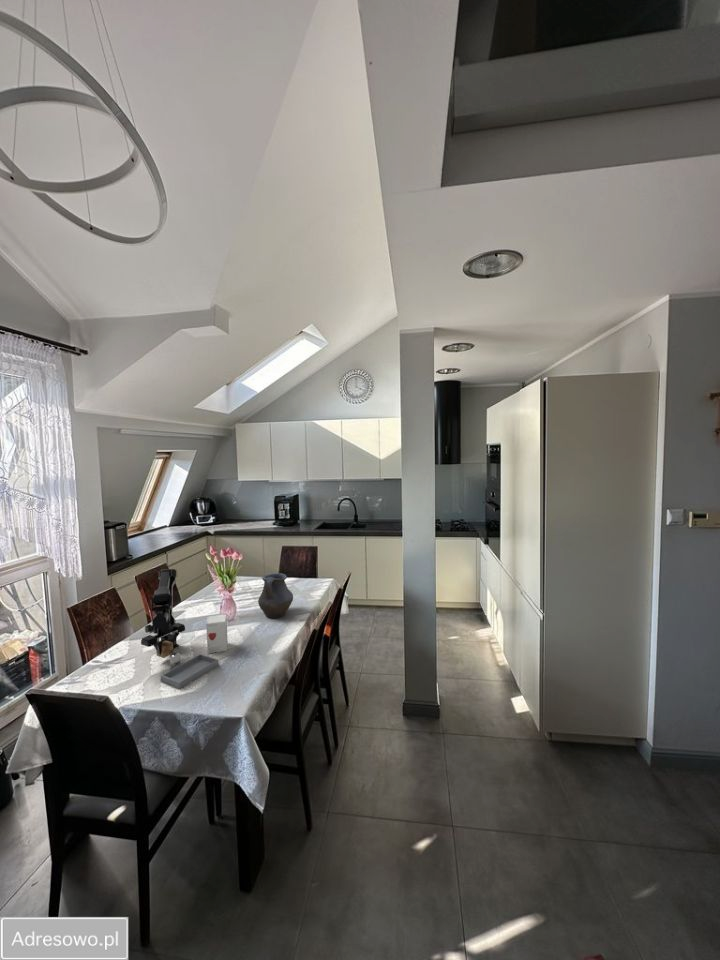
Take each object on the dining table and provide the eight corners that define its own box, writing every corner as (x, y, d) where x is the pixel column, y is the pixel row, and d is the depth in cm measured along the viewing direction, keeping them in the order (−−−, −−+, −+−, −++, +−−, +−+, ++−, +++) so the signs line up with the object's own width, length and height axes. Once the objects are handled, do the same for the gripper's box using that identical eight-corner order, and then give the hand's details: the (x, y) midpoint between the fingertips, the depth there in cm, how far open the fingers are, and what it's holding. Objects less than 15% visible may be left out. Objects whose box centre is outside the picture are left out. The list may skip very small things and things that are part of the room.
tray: (200, 659, 181) (200, 653, 180) (218, 665, 175) (218, 659, 175) (160, 681, 163) (160, 675, 163) (179, 689, 157) (179, 682, 157)
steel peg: (176, 664, 176) (176, 651, 176) (182, 666, 175) (181, 653, 174) (168, 669, 173) (168, 655, 173) (174, 671, 171) (173, 658, 171)
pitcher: (297, 608, 238) (296, 568, 237) (287, 623, 217) (286, 580, 215) (265, 608, 240) (263, 568, 239) (252, 623, 219) (250, 579, 217)
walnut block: (166, 650, 183) (165, 640, 183) (173, 653, 181) (172, 642, 181) (156, 655, 179) (156, 645, 179) (163, 658, 177) (163, 647, 176)
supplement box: (206, 654, 185) (205, 623, 184) (208, 645, 194) (207, 616, 193) (227, 651, 188) (225, 621, 187) (228, 642, 196) (226, 613, 195)
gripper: (170, 609, 191) (171, 640, 192) (132, 624, 174) (134, 657, 175) (185, 613, 186) (186, 644, 187) (147, 628, 169) (150, 663, 170)
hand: (164, 652), depth 180 cm, fingers closed on walnut block, 5 cm apart
